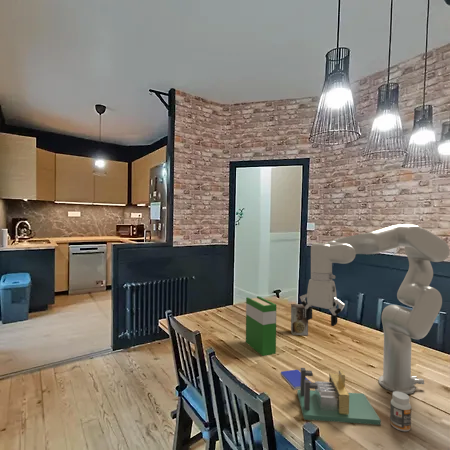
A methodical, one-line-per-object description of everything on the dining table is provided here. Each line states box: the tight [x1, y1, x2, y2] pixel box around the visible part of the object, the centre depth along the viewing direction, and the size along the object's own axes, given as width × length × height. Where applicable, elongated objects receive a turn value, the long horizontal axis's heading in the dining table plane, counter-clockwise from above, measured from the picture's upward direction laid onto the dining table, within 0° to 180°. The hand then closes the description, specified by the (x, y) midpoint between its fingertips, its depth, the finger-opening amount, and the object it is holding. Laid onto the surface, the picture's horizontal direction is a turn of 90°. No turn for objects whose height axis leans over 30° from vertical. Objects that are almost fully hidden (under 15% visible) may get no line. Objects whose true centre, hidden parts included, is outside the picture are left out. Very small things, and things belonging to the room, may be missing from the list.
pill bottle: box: [389, 391, 412, 432], centre depth 97 cm, size 6×6×10 cm
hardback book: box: [245, 295, 277, 357], centre depth 156 cm, size 18×7×24 cm, turn 23°
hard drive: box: [280, 369, 309, 390], centre depth 125 cm, size 2×8×12 cm
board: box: [296, 367, 382, 426], centre depth 106 cm, size 24×15×11 cm, turn 85°
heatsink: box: [314, 380, 339, 412], centre depth 107 cm, size 8×10×6 cm
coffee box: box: [290, 303, 309, 336], centre depth 176 cm, size 9×6×16 cm
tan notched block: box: [328, 368, 350, 415], centre depth 106 cm, size 3×14×10 cm, turn 175°
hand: (321, 322), depth 115 cm, fingers open, 9 cm apart
